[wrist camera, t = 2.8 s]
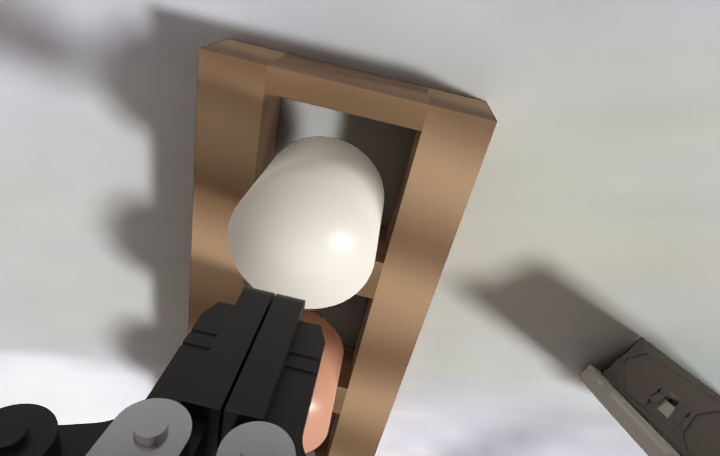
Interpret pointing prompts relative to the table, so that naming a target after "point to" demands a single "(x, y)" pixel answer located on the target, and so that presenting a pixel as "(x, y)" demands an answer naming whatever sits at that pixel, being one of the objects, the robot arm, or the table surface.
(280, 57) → the wooden egg rack
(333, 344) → the pink rounded piece
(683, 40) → the table surface
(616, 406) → the electrical switch
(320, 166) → the white egg
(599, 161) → the table surface
